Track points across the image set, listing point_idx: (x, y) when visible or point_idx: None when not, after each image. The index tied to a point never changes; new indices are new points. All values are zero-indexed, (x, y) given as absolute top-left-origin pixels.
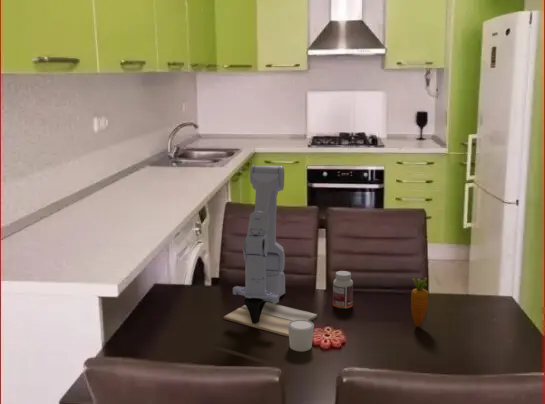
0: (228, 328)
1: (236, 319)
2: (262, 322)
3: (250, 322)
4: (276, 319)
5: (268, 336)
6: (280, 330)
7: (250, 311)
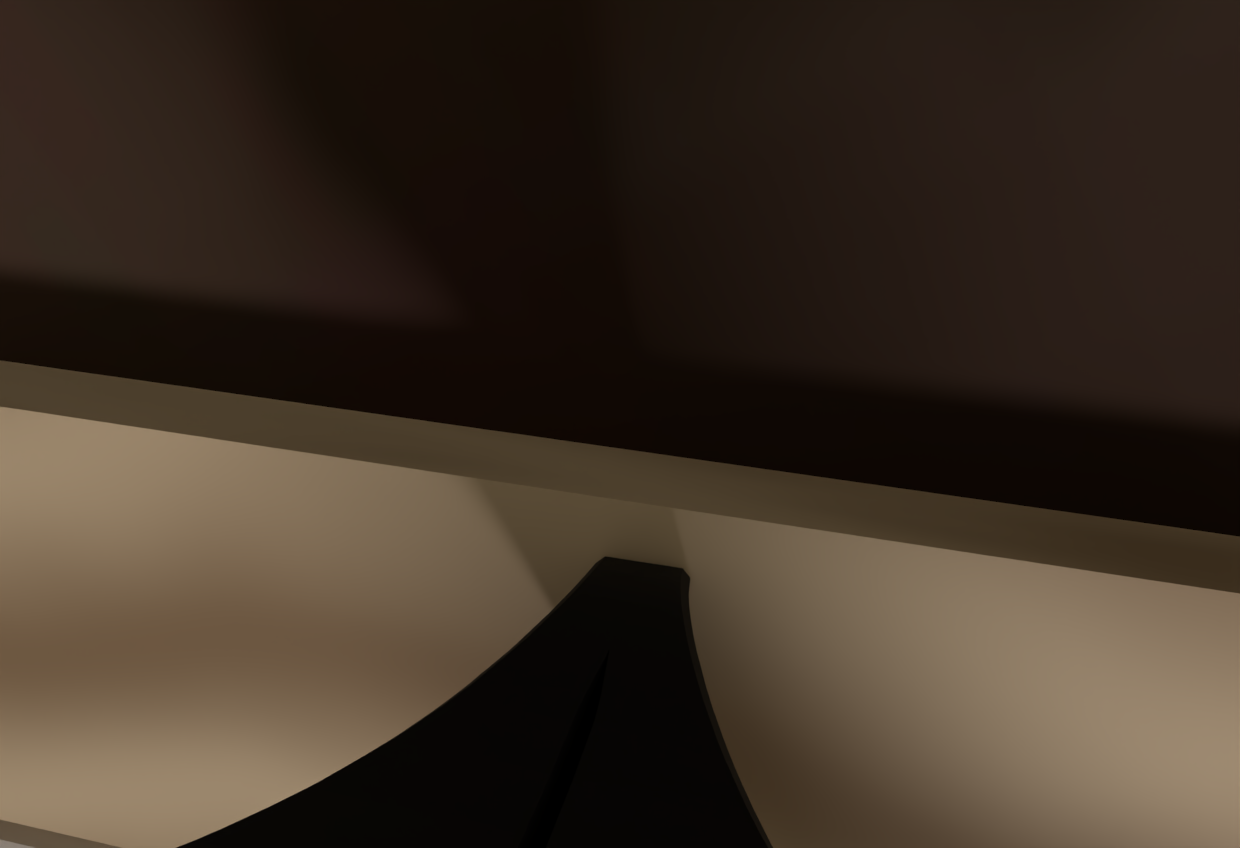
0: (1226, 252)
1: (1156, 613)
2: None
3: (734, 578)
4: None
5: (202, 285)
6: (5, 466)
7: (651, 749)
